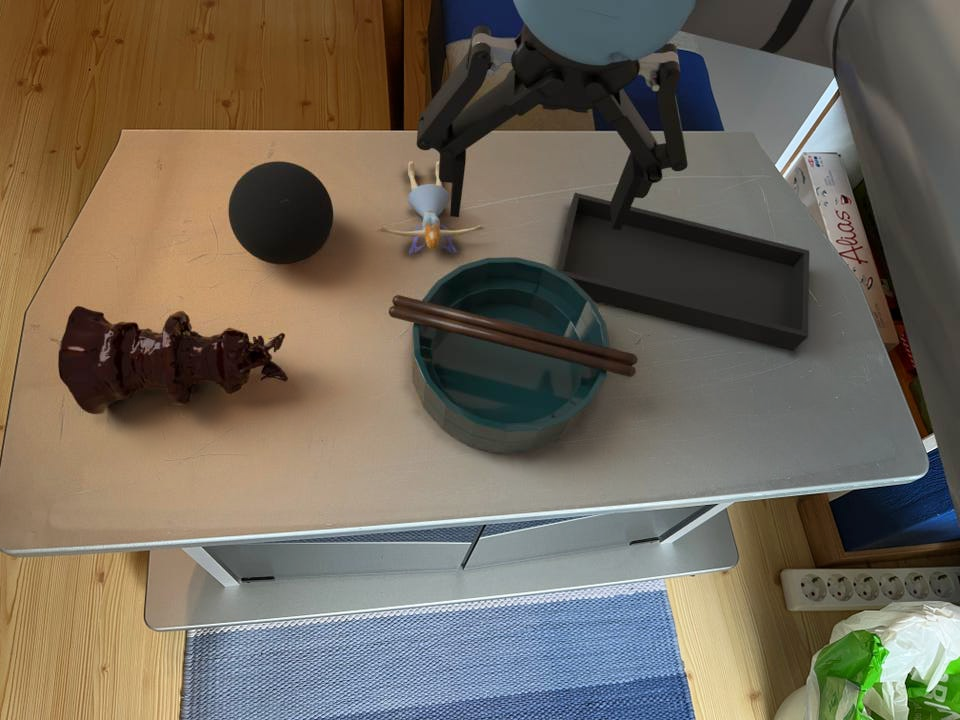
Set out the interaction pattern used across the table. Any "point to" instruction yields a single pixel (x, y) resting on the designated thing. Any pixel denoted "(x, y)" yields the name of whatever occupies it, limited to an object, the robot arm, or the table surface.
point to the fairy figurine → (429, 212)
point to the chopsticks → (513, 335)
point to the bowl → (507, 357)
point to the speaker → (280, 213)
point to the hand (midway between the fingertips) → (535, 211)
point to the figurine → (155, 359)
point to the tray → (688, 272)
